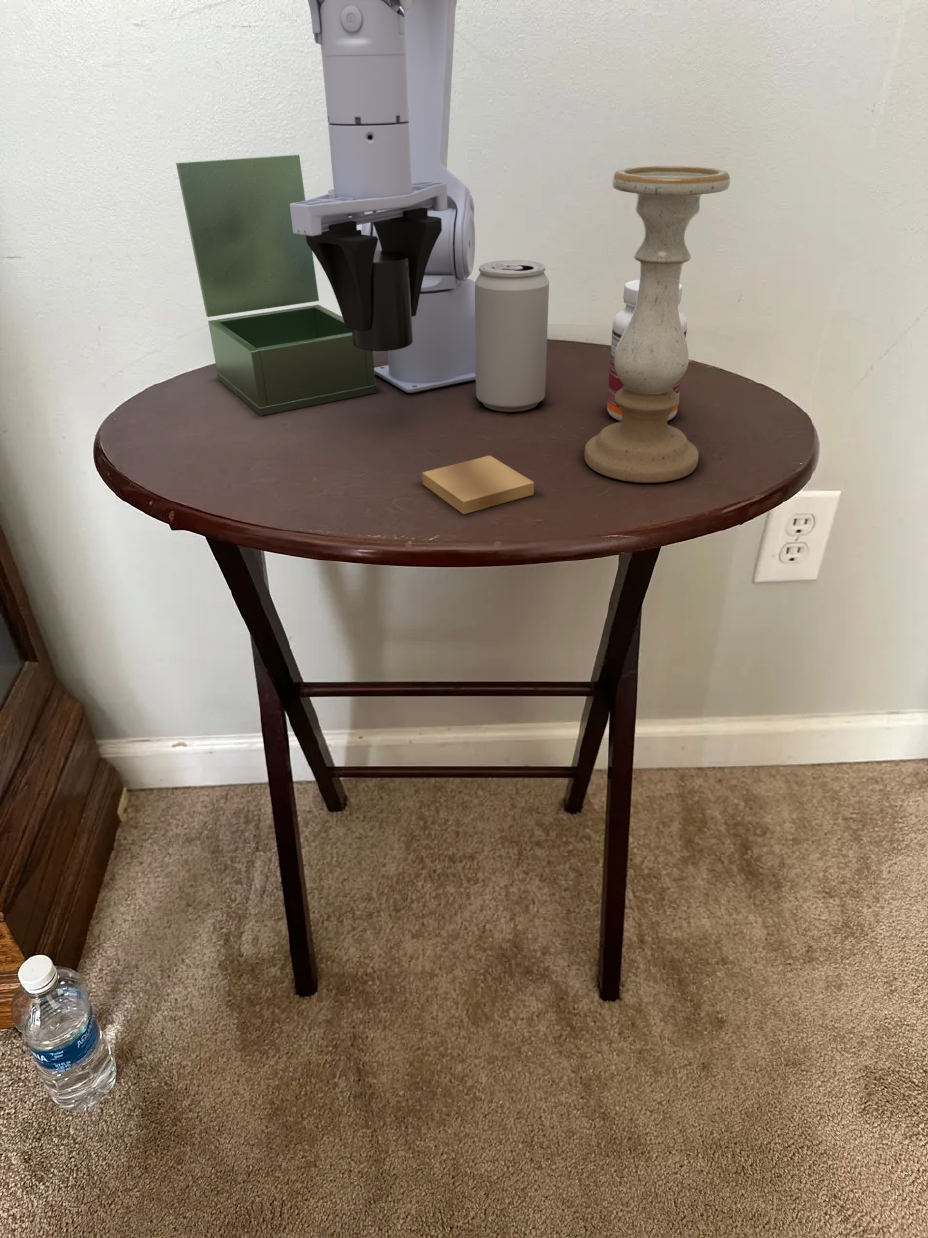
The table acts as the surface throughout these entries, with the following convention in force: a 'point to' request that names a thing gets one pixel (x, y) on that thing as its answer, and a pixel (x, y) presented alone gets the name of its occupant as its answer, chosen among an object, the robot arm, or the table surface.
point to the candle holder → (654, 331)
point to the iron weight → (388, 305)
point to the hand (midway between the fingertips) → (382, 321)
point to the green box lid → (247, 233)
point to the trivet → (477, 484)
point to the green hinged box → (290, 359)
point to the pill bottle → (617, 331)
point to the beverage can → (511, 334)
